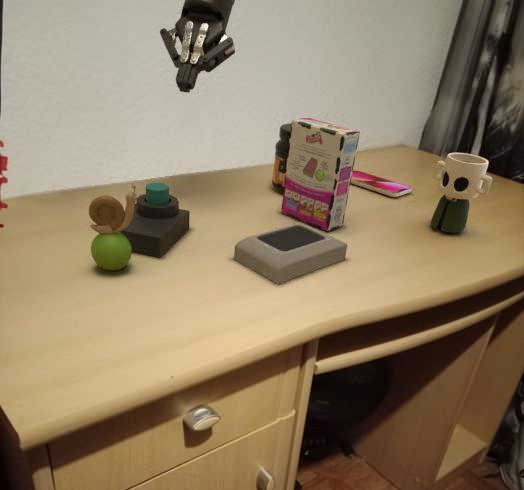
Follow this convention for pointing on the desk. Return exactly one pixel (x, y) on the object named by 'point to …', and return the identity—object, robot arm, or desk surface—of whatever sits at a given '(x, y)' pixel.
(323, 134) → the candy bar box
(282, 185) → the supplement container
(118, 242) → the snail figurine
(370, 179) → the smartphone
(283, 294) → the desk surface
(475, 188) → the character mug
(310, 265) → the grey bevelled block
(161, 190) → the push button
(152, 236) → the black button base
